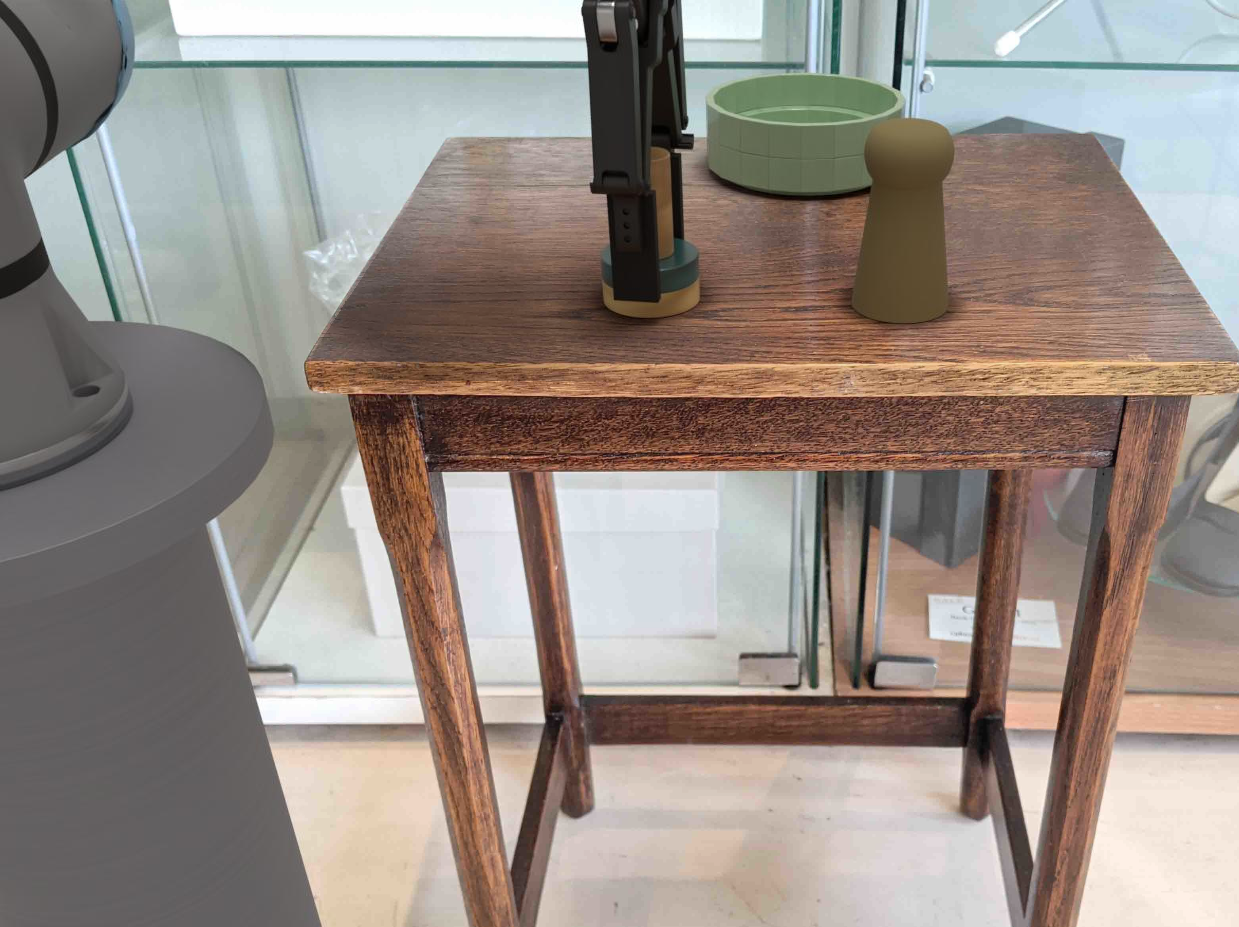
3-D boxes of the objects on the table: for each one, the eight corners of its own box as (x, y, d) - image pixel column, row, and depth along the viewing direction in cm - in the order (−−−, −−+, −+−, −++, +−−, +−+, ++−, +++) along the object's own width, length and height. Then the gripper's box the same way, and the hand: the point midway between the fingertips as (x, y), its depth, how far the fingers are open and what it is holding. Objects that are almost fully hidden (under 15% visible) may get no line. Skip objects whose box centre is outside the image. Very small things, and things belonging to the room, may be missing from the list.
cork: (864, 327, 78) (873, 140, 71) (840, 288, 83) (846, 111, 76) (961, 319, 79) (978, 134, 72) (932, 282, 84) (945, 105, 77)
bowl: (798, 215, 94) (799, 137, 91) (669, 166, 103) (666, 94, 100) (940, 172, 102) (946, 100, 99) (808, 130, 112) (810, 63, 109)
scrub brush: (642, 326, 78) (633, 176, 73) (584, 297, 81) (572, 152, 76) (719, 300, 81) (716, 155, 76) (660, 273, 85) (653, 133, 79)
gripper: (659, -124, 59) (678, 346, 72) (732, -165, 75) (736, 226, 88) (499, -128, 60) (546, 337, 73) (604, -167, 76) (628, 220, 89)
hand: (650, 276), depth 80 cm, fingers open, 6 cm apart
